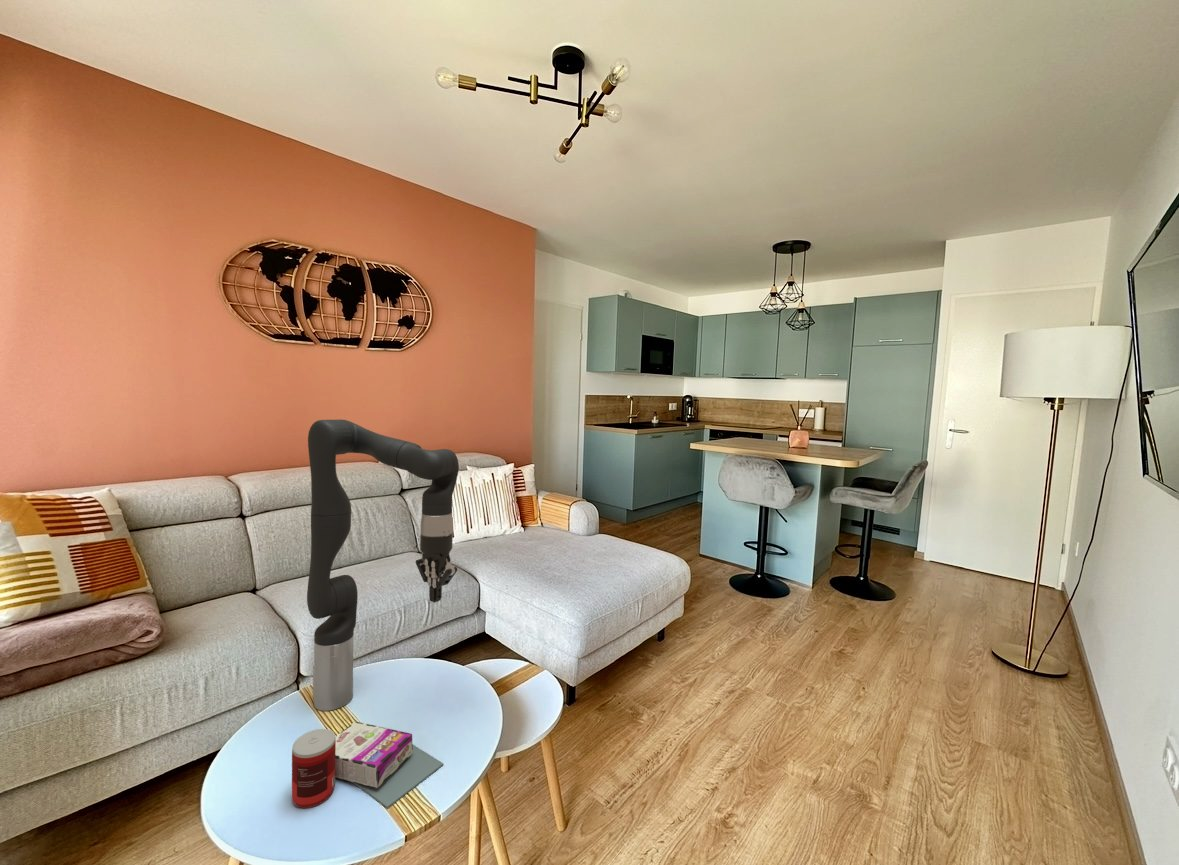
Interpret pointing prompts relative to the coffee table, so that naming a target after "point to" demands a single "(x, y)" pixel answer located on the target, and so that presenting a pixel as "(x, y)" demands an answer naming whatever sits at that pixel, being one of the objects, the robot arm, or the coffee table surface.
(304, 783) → the canned food
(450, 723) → the coffee table surface
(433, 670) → the coffee table surface
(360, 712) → the coffee table surface
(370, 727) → the candy bar box
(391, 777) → the mat
